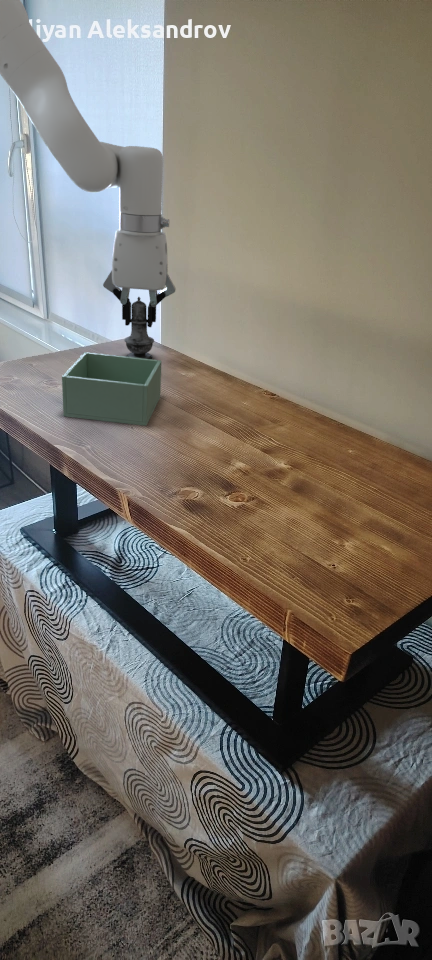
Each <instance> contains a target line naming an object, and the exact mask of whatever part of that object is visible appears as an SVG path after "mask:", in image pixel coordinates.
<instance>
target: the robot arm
mask: <svg viewBox="0 0 432 960" xmlns="http://www.w3.org/2000/svg"><path fill="white" fill-rule="evenodd" d="M28 15H29V14H28V12H27V10H26V8H25V5H24V4H23V2H22V1H21V0H0V76H1V77H2V79H3V80H4V81H5V83H6V84H7V86H8V87H9V89H10V90H11V91H12V93H13V94H14V95H15V98H17V100H18V101H19V103H20V104H21V106H22V108H23V110H24V112H25V114H26V115H27V117H28V118H29V120H30V122H31V123H32V125H33V127H34V128H35V130H36V132H37V133H38V135H39V138H41V140H42V142H43V143H44V144H45V146H46V148H47V150H49V152H50V154H51V155H52V156H53V157H54V159H55V160H56V161H57V163H58V164H59V166H60V167H61V168H62V170H63V171H64V173H65V174H66V175H67V177H68V178H69V179H70V180H71V181H72V183H74V185H75V186H76V187H78V188H79V189H81V190H82V191H83V192H87V193H91V194H95V193H96V194H97V193H101V192H103V191H105V190H107V189H114V188H118V189H119V192H118V193H119V195H118V197H119V201H118V203H119V204H118V205H119V206H118V207H119V208H118V209H119V214H118V215H119V216H118V217H119V219H118V220H119V222H118V223H119V228H117V229H116V230H115V235H114V238H113V248H112V258H111V259H112V261H111V270H110V272H109V273H108V275H107V277H106V278H105V280H104V282H103V283H102V286H103V288H104V289H106V290H108V291H109V292H110V293H112V294H113V295H114V296H115V298H117V300H118V301H119V302H120V304H121V320H123V321H124V325H125V327H126V326H130V324H131V322H130V319H132V302H131V300H130V292H131V289H132V290H143V291H148V295H149V303H148V306H147V320H148V322H147V328H152V327H153V323H156V321H157V305H159V304H160V303H161V302H162V301H163V300H164V299H165V298H167V297H170V296H171V295H173V294H174V293H175V292H176V290H177V289H176V286H175V285H174V283H173V280H172V278H171V277H170V275H169V273H168V272H169V270H168V268H169V267H168V265H169V264H168V263H169V262H168V244H167V236H166V232H163V231H162V230H163V229H165V228H170V219H168V218H165V217H164V216H163V214H162V210H163V179H164V176H163V175H164V156H163V154H162V152H161V151H160V150H159V148H155V147H151V146H150V147H149V146H140V145H139V146H138V145H127V146H123V145H117V144H113V143H108V142H104V141H100V139H98V137H97V136H96V134H95V132H94V131H93V130H92V129H91V127H90V125H88V123H87V121H86V120H85V118H84V117H83V115H82V114H81V112H80V110H79V109H78V107H77V105H76V103H75V101H74V100H73V98H72V96H71V93H70V90H69V87H68V83H67V78H66V76H65V75H64V72H63V70H62V68H61V67H60V64H58V62H57V61H56V59H55V58H54V56H53V55H52V53H51V52H50V51H49V49H48V47H46V45H45V43H44V42H43V40H42V39H41V38H40V36H39V35H38V33H37V32H36V31H35V29H34V27H33V26H32V24H31V23H30V20H29V16H28ZM158 291H159V292H158Z"/></svg>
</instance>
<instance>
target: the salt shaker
mask: <svg viewBox="0 0 432 960" xmlns="http://www.w3.org/2000/svg"><path fill="white" fill-rule="evenodd" d="M136 299H137V300H136V301H134V302H132V303H131V319H130V324H131V325H130V326H131V331H130V335H129V336H126V337H125V338H124V339H123V341H124V342H125V347H126V348H127V350H128V351H129V352H130V353H128V354H127V355H126V356H125V357H134V358H143V359H152V360H153V359H154V357H153V355H152V354H151V353H149V352H150V351H151V350H152V349H153V343H155V339H154V338H153V337H151V336H149V334H148V326H147V323H148V311H147V304H146V303H145V302H144V301H142V300H141V297H140V296H138V297H137V298H136Z"/></svg>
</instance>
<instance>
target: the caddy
mask: <svg viewBox="0 0 432 960" xmlns="http://www.w3.org/2000/svg"><path fill="white" fill-rule="evenodd" d="M162 363H163V362H162V360H159V359H153V358H152V359H143V358H134V357H126V356H124V355H114V354H108V353H107V354H106V353H98V352H97V353H96V352H87V351H84V352H83V353H82V354H81V355H80V356H79V357H78V358H77V359H76V361H75V362H74V363H73V364H72V365H71V366H70V367H69V368H68V369H67V370H66V372H64V374H62V376H61V388H62V410H63V413H62V415H63V417H67V418H75V419H84V420H92V421H100V422H101V421H102V422H109V423H118V424H126V425H127V424H129V425H135V426H143V427H147V426H148V423H149V422H150V420H151V417H152V415H153V413H154V411H155V409H156V407H157V405H158V402H159V401H160V398H161V391H162V390H161V387H162Z"/></svg>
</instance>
